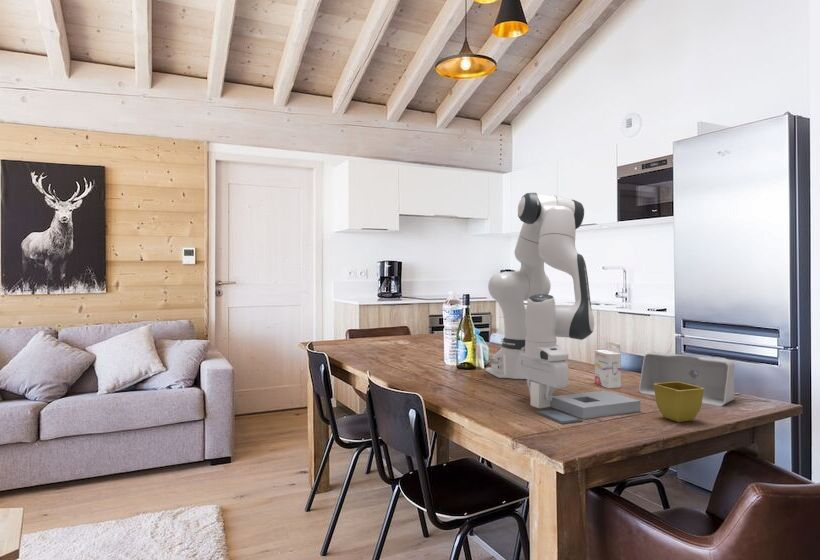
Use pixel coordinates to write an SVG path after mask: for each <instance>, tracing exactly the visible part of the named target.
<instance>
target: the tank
mask: <svg viewBox="0 0 820 560" xmlns="http://www.w3.org/2000/svg"><path fill="white" fill-rule="evenodd" d="M696 373H697V374H696ZM667 382H682V383H686V384H690V385H694V386H698V387H701V388H704V393H703V398H702V404H703V405H704V404H705V405H710V406H711V405H712V406H716V407H717V406H718V407H723V406H724V405H727V404H728V403H730V402H732V401H733V400H734V399H735V363H734V361H732V360H730V359H723V358H714V357H704V356H697V355H695V356H694V355H686V354H676V353H669V352H668V353H667V352H657V351H655V352H654V351H652V352H649V353H646V354H644V356H643V361H642V366H641V373H640V379H639V385H638V386H639V387H638V391H639V393H640V394H644V395H650V396H651V395H652V396H655V389H654V384H656V383H667Z"/></svg>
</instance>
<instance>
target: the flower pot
mask: <svg viewBox="0 0 820 560" xmlns="http://www.w3.org/2000/svg"><path fill="white" fill-rule="evenodd" d="M654 389H655V395H654V396H655V402H656V406H657V408H658V410H659V412H660V413H661V415H662V417H663V418H665V419H667V420H671V421H674V422H676V423H683V422H689V421H693V420H694V419H695V418H696V416H697V415H698V414H699V412H700V411H701V410H700V409H701V406H702V404H703V403H702V398H703V393H704V388H701V387H698V386H694V385H690V384H686V383H682V382H667V383H656V384H654Z"/></svg>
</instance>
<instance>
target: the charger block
mask: <svg viewBox="0 0 820 560" xmlns="http://www.w3.org/2000/svg"><path fill="white" fill-rule="evenodd" d="M547 390H548V389H546V385H544V384H540V383H537V382H534V381H531V395H530V404H529V405H530V406H531V407H534V408H537V409H544V408H551V407H550V401H546V400H544V394H546V393H547Z"/></svg>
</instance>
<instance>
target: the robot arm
mask: <svg viewBox="0 0 820 560" xmlns="http://www.w3.org/2000/svg"><path fill="white" fill-rule="evenodd" d="M517 216H518V218H519V220H520V221H521V222H523V224H522V226H521V229H520V231H519V234H518V235H519V236H518V238H517V242H516V245H515V249H514V257H515V259H516V260H517V261H518V262H519V263H520V269H519V270H518V271H501V272H498V273H495V274H493V275H492V276H491V277H490V279H489V281H488V287H487V288H488V292H489V294H490V296H491V298H492V299H494V301H496V303H498V305H499V307H500V309H501V311H502V316H503V321H504V322H503V323H504V337H503V338H501V340H500V342H501V348H500V349H499V350H497V352H495V353H494V354H493V355H492V358H491V366H490V367H486V368H485V372H486V373H489V374H491V375H492V376H494V377H496V378H498V379H499V378H500V379H513V380H526V384H527V387H528V391H529V395H530V396H531V381H534V382H537V383H540V384H544V385H546V389H548V390H547V393H546V394H544V400H546V401H552V396H554V393H555V391H556V389H558V390H559V389H565V388H567V386H568V384H569V364H568V362H567V360H569V353H568V352H567V351H566V350H564V349H563V348H562V347H560V346H559V344H557V338H569V339H573V340H580V341H583V340H585V339H586V338H588V337H589V336H591V335H592V334H593V332H594V329H595V319H594V315H593V310H592V301H591V295H590V286H589V277H588V271H587V265H586V260H585V258H584V257H583V255H582V254H581V253H579V252H578V251H577V248H576V232H577V231H576V230H577V229H578V228H580V226H582V224H583V220H584V218H585V207H584V205H583V204H582V203H581V202H579V201H577V200H575V199H569V198H566V197H563V196H559V195H552V194H544V193H537V192H526V193H524V195H522V197H521V199H520V200H519V203H518V205H517ZM545 264H546V265H548V266H549V267H551V268H553V269H554V270H558V271H561V272H564V273H566V274H567V275H570V276H571V278H572V281H573V290H574V304H571V305H570V304H569V305H567V304H566V305H565V304H564V305H563V304H556V301H555V297H554V296H553V295H550V294H549V293H550V291H551V286H552V285H551V280H550V278H549V277H548V276H547V274H546V272H545V271H546V270H545ZM525 301H527V302H526V307H525Z"/></svg>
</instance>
